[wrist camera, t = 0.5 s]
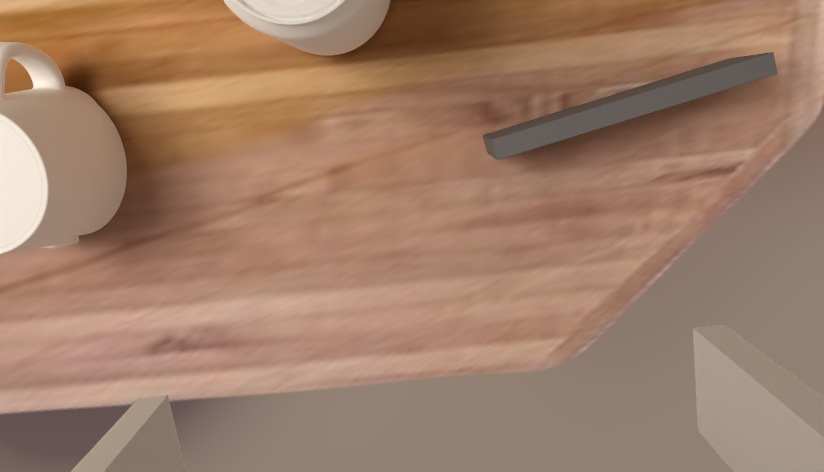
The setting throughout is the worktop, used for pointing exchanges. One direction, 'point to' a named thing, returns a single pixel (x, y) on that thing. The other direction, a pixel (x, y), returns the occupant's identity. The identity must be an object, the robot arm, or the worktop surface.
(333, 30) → the beverage can
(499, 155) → the bar
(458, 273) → the worktop surface
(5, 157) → the mug
